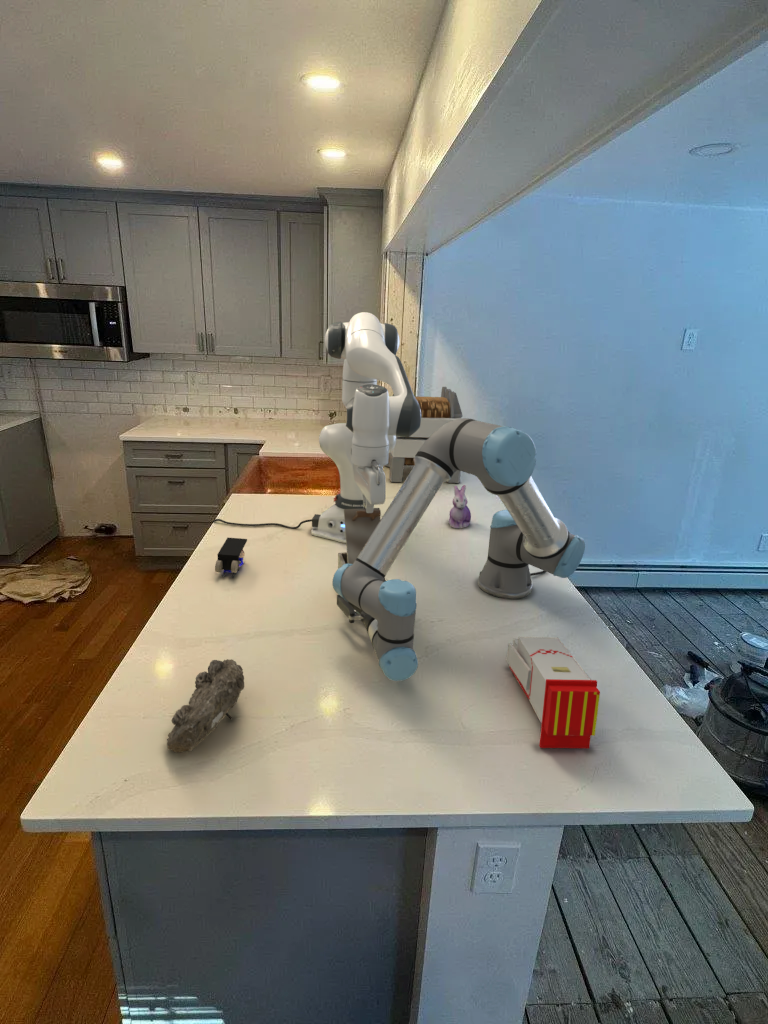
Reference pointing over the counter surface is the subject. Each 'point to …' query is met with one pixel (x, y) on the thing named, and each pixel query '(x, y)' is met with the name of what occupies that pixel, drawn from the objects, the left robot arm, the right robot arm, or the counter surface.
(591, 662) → the counter surface
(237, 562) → the figurine character
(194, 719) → the fossil
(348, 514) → the lid
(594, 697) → the toy
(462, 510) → the figurine
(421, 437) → the transformer
